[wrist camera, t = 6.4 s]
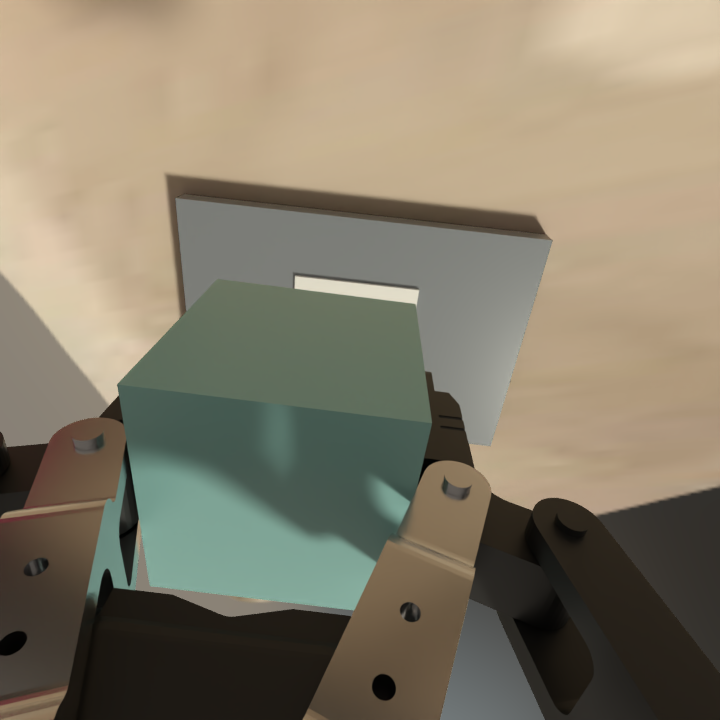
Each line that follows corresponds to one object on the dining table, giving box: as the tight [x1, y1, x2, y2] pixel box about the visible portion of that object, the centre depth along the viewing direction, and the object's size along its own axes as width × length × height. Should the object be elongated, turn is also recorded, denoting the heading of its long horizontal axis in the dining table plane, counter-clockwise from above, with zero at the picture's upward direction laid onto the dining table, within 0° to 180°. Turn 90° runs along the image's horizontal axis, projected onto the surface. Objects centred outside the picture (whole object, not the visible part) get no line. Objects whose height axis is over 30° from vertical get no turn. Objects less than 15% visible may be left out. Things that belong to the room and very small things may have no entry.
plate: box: [175, 194, 553, 446], centre depth 29 cm, size 14×20×1 cm
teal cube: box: [117, 279, 432, 610], centre depth 11 cm, size 5×5×5 cm
